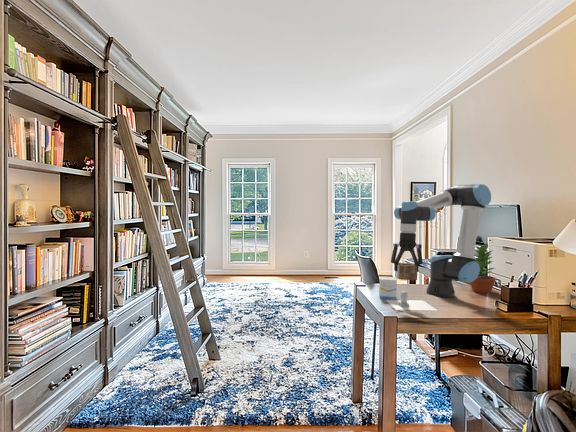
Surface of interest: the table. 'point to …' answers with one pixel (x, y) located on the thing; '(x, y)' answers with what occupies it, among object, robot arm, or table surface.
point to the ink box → (388, 288)
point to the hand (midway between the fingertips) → (405, 277)
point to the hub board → (409, 304)
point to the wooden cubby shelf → (407, 271)
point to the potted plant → (483, 272)
